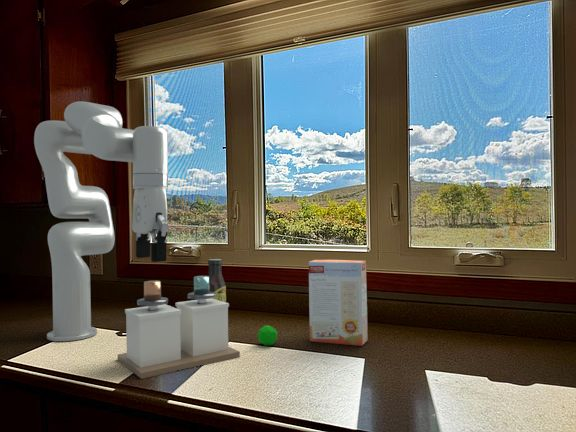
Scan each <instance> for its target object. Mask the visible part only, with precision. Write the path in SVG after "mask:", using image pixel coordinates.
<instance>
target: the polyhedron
mask: <svg viewBox="0 0 576 432" xmlns="http://www.w3.org/2000/svg"><path fill="white" fill-rule="evenodd" d="M257 339H258V343H260V344H262V345H263V346H265V347H270V346H272V345H274V344H275V343H276V341H277V339H278V331H277V330H276V328H275V327H273V326H272V325H271V326H270V324H269V325H268V324H267V325H264V326H263V327H261V328H260V329H259V330H258V332H257Z"/></svg>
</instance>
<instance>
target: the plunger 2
mask: <svg viewBox="0 0 576 432" xmlns="http://www.w3.org/2000/svg"><path fill="white" fill-rule="evenodd" d="M214 297H216V293H215V292H211V291H209V275H197V276H196V275H195V276H194V277H193V291H192V292H189V293H187V299H190V300H197V304H206V299H210V298H214Z"/></svg>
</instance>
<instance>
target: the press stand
mask: <svg viewBox="0 0 576 432" xmlns="http://www.w3.org/2000/svg"><path fill="white" fill-rule="evenodd" d="M229 307H230V303H229V302H227V301H226V302H222V301H219V300H216V299H212V298H210V299H206V304H197V299H191V300H186V301H178V302H175V307H174V306H171V305H168V304H163V305H158V310H156V311H148V306H139V307H134V308H133V307H132V308H125V309H124V314H125V316H126V317H125V318H126V319H125V320H126V321H125V323H126V326H125V327H126V331H125V332H126V335H125V337H126V339H125V340H126V352H124V353H119V354H117V361H118V362H120V363H121V364H122V365H124V366H125V367H126V368H127V369H129V370H130V371H131V372H132V373H133V374H134V375H135V376H137V377H138V378H140V379H141V380H143V379H147V378H151V377H155V376H156V377H157V376H160V375H164V374H170V373H173V372H178V371H177V370H179V371H183V370H188V369H192V368H196V366H197V367H200V365H201V366H205V365H209V363H210V364H214V363H218V362H222V361H226V360H232V359H236V358H240V357H241V354H240V353H241V352H240V351H239V350H237V349H235V348H232V347H230V346H229ZM187 368H188V369H187ZM182 369H183V370H182Z"/></svg>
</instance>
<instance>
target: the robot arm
mask: <svg viewBox="0 0 576 432" xmlns="http://www.w3.org/2000/svg"><path fill="white" fill-rule="evenodd" d="M63 118H64V120H45V121H42V122H40V123H38V125H37V126H36V128H35V131H34V134H33V135H34V136H33V144H34V149H35V153H36V156H37V158H38V160H39V163H40V166H41V169H42V171H43V173H44V178H45V179H44V181H45V189H46V194H47V201H48V207H49V210H50V213H51V214H52V216H54V217H55V218H58V219H88V221H65V222H63V221H62V222H59V223H56V224H54V225H52V226H51V228H50V229H48V233H47V245H48V249H49V253H50V262H51V274H52V275H51V276H52V277H51V278H52V280H51V281H52V331H49V332H47V334H46V339H47V340H48V341H51V342H73V341H78V340H84V339H88V338H91V337H94V336H96V335H97V333H98V329H97V328H96V327H94V326H92V308H91V307H92V306H91V305H92V304H91V300H92V299H91V271H90V268H89V266H88V265H87V263H86V262H85V261H84V259H83V256H95V255H104V254H107V253H109V252H111V251H112V250H113V248H114V246H115V242H116V241H115V240H116V239H115V238H116V236H115V229H114V224H113V223H114V222H113V216H112V209H111V205H110V200H109V196H108V194H107V193H106V191H105V190H104V189H103V188H101V187H100V186H99V187H98V186H94V185H82V184H81V183H80V180H79V176H78V175H79V174H78V171H77V168H76V166H75V164H74V163H73V162H72V160H70V158H68V157H67V156H66V155H65V154H64V153H73V154H85V155H93V156H94V157H96V158H98V159H101V160H104V161H115V162H126V163H132V189H133V190H134V194H133V201H132V202H133V203H132V220H131V229H132V230H131V231H133V233H135V257H136V258H137V259H141V258H142V259H143V258H144V259H145V258H150V261H151V262H153V263H157V262H158V263H159V262H166V261H167V243H168V238H167V237H168V235H169V234H168V228H169V223H168V203H167V192H166V190H167V191H168V190H169V176H168V175H169V134H168V131H167V130H166V129H165V128H163V127H159V126H154V125H142V126H141V125H140V126H138V127H135V128H134V129H130V128H124V127H123V123H124V121H123V117H122V114H121V112H120V111H119V110H118V109H117V108H115V107H114V106H110V105H105V104H99V103H95V102H89V101H83V100H82V101H81V100H80V101H74V102H72V103H70V104H69V105H67V106H66V108H65V109H64V113H63ZM150 236H151V239H152V242H151V240H150V239H149V238H150Z"/></svg>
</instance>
